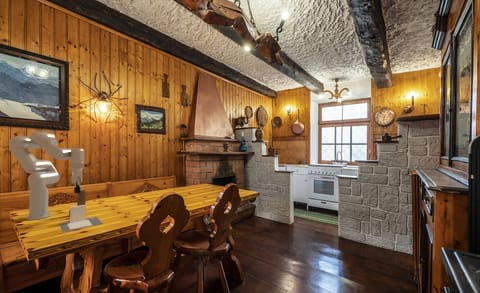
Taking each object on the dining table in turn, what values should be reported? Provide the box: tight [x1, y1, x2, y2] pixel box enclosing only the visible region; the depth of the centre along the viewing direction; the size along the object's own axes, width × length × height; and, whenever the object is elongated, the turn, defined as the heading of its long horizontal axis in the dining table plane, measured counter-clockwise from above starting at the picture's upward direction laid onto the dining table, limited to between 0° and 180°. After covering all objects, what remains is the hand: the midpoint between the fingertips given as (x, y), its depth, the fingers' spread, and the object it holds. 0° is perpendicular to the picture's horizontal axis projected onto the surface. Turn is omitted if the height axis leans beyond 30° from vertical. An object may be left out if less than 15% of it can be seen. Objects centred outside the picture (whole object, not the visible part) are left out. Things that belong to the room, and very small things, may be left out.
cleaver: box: [68, 189, 87, 218], centre depth 152 cm, size 9×4×18 cm, turn 132°
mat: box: [59, 216, 104, 233], centre depth 134 cm, size 20×20×1 cm
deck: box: [69, 205, 87, 223], centre depth 138 cm, size 2×8×10 cm, turn 135°
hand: (77, 193), depth 145 cm, fingers closed
